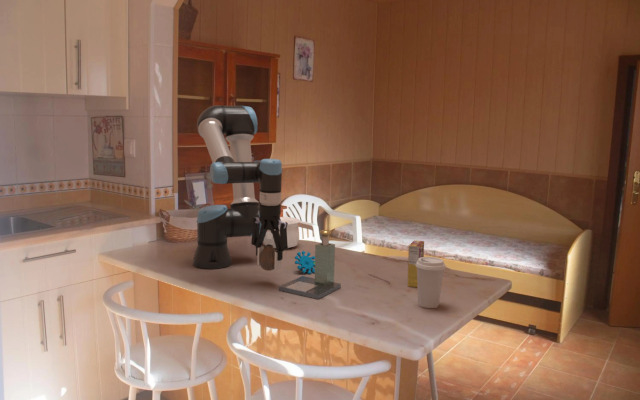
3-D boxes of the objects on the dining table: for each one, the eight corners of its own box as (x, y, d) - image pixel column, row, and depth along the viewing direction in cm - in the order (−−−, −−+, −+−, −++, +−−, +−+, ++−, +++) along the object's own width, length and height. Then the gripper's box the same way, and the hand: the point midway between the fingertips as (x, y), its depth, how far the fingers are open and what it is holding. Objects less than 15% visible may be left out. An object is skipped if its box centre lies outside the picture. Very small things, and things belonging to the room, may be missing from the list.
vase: (270, 273, 192) (271, 248, 190) (255, 269, 195) (255, 245, 194) (282, 268, 197) (282, 244, 196) (267, 264, 201) (267, 241, 199)
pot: (278, 254, 238) (278, 226, 236) (249, 247, 248) (249, 221, 246) (310, 245, 255) (310, 219, 253) (282, 239, 266) (282, 215, 264)
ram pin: (317, 261, 192) (318, 231, 190) (322, 259, 195) (323, 229, 193) (326, 263, 190) (327, 232, 188) (332, 260, 193) (333, 230, 192)
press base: (278, 290, 189) (279, 246, 187) (302, 279, 202) (303, 238, 200) (318, 299, 181) (319, 253, 179) (340, 287, 194) (341, 244, 192)
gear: (299, 272, 206) (293, 249, 212) (292, 280, 210) (286, 257, 215) (324, 272, 212) (317, 250, 217) (317, 280, 216) (310, 258, 221)
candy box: (411, 279, 206) (413, 239, 203) (423, 281, 204) (425, 241, 202) (406, 286, 198) (408, 244, 195) (418, 287, 196) (420, 246, 194)
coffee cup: (410, 299, 183) (412, 256, 181) (438, 299, 184) (440, 256, 181) (417, 310, 174) (420, 264, 171) (447, 309, 174) (450, 264, 172)
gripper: (241, 201, 194) (240, 264, 198) (287, 209, 184) (285, 274, 188) (254, 198, 200) (253, 259, 204) (299, 205, 190) (297, 269, 194)
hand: (268, 266), depth 196 cm, fingers closed on vase, 7 cm apart
